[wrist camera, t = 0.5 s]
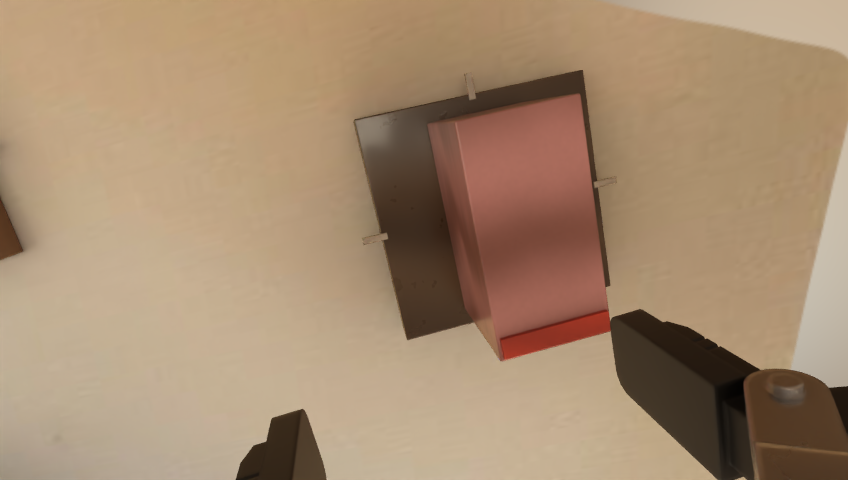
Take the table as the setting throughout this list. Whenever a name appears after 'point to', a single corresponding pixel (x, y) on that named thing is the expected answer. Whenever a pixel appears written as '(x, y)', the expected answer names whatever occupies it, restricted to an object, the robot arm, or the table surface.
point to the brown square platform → (438, 197)
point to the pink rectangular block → (523, 223)
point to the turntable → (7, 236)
